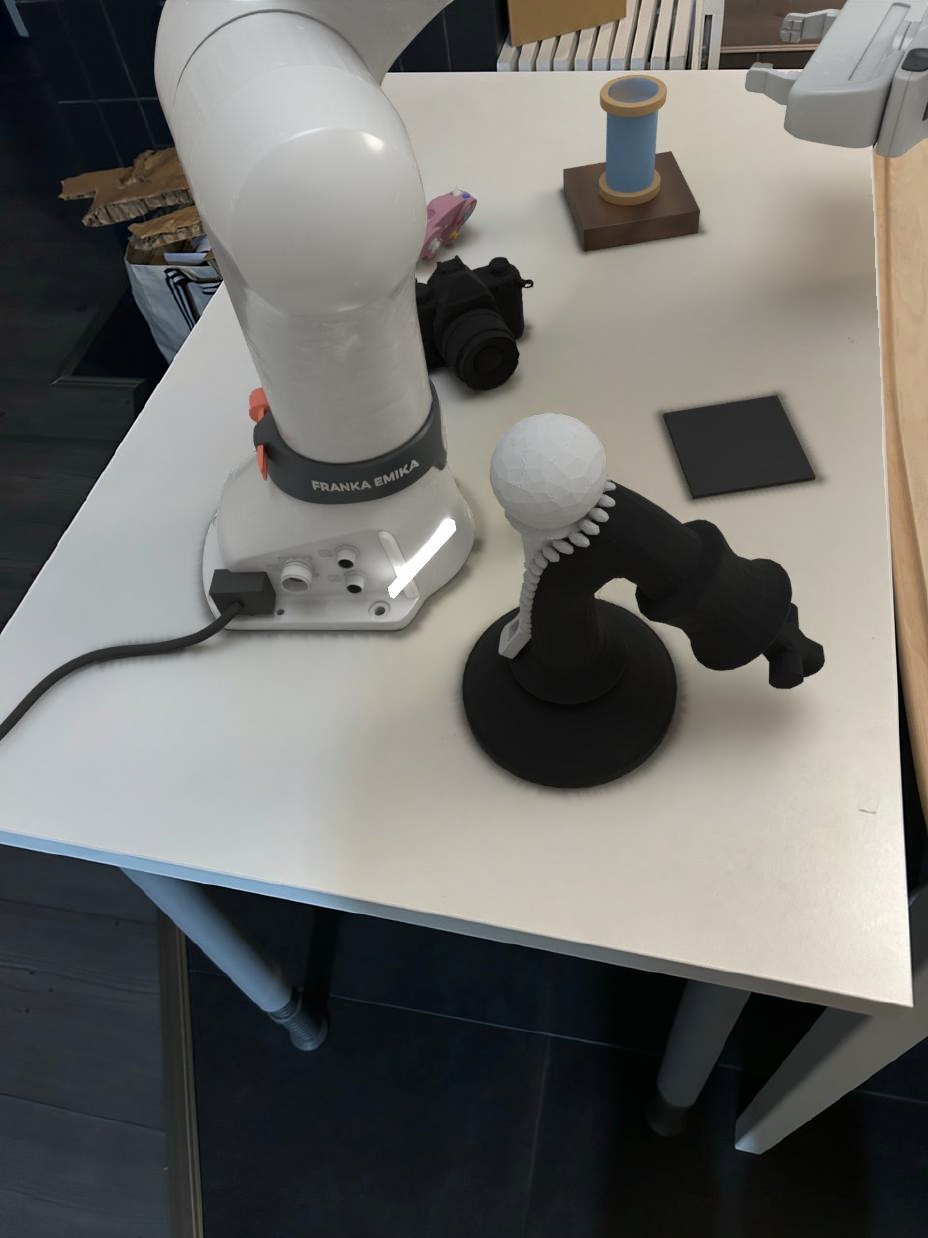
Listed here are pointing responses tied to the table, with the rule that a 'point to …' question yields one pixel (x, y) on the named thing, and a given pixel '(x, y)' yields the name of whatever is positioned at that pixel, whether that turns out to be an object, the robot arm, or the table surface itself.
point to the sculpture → (609, 614)
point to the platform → (630, 207)
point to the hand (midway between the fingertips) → (765, 50)
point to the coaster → (737, 447)
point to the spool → (631, 138)
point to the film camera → (472, 320)
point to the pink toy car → (446, 219)
